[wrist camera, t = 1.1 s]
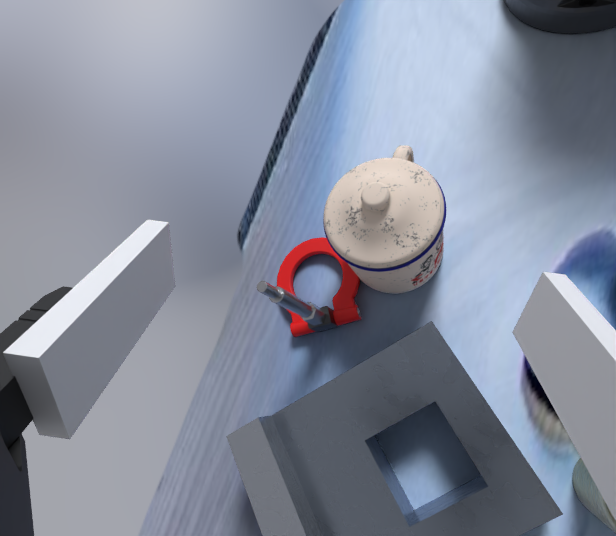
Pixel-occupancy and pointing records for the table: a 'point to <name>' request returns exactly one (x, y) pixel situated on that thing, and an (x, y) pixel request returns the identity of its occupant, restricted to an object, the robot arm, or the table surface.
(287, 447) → the jig
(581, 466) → the brass flanged peg
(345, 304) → the tow hook
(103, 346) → the robot arm
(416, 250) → the teacup with lid
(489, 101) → the table surface
